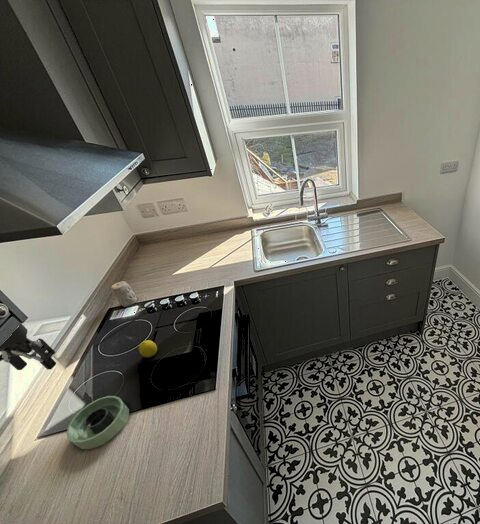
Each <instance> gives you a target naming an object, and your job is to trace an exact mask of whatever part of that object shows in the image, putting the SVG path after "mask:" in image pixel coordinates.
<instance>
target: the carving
mask: <svg viewBox="0 0 480 524" xmlns="http://www.w3.org/2000/svg"><path fill="white" fill-rule="evenodd" d="M110 289H111V291H112V293H113V294H114V296H115V298H116V300H117V302H118V303H119V304H120V305H121V306H122V307H124V308H126V307H130V306H132V305H134V304H135V303H136V302H137V296H136V294H135V293H134V291H133V289H132V287H131V286H130V284H129V283H128V282H127V281H125V280H123V281H122V280H121V281H118V282H116V283H114V284H112V285H111V287H110Z"/></svg>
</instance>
